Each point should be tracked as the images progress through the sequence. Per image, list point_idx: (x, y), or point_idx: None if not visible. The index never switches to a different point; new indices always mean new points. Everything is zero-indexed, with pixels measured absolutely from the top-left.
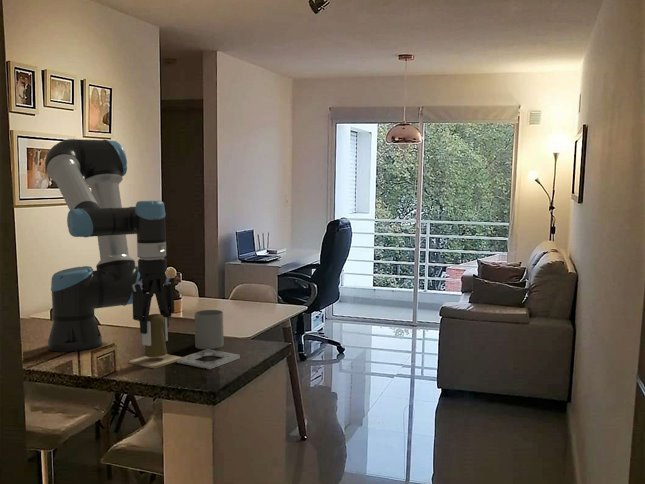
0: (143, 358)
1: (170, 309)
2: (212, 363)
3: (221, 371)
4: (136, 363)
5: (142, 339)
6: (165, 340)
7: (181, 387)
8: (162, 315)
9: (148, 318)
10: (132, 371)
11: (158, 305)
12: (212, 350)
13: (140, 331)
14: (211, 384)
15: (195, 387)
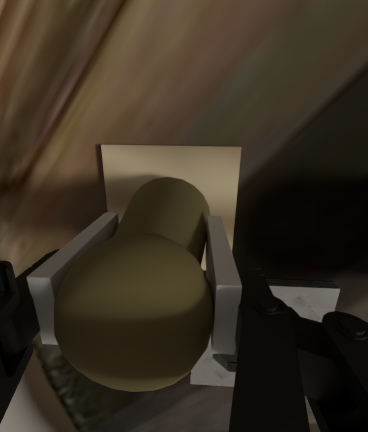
0: (151, 168)
1: (317, 412)
2: (209, 379)
3: (193, 398)
4: (106, 184)
5: (95, 222)
6: (205, 257)
7: (65, 393)
8: (185, 375)
9: (55, 335)
10: (58, 228)
11: (231, 413)
12: (327, 311)
13: (45, 258)
14: (115, 423)
15: (83, 411)
